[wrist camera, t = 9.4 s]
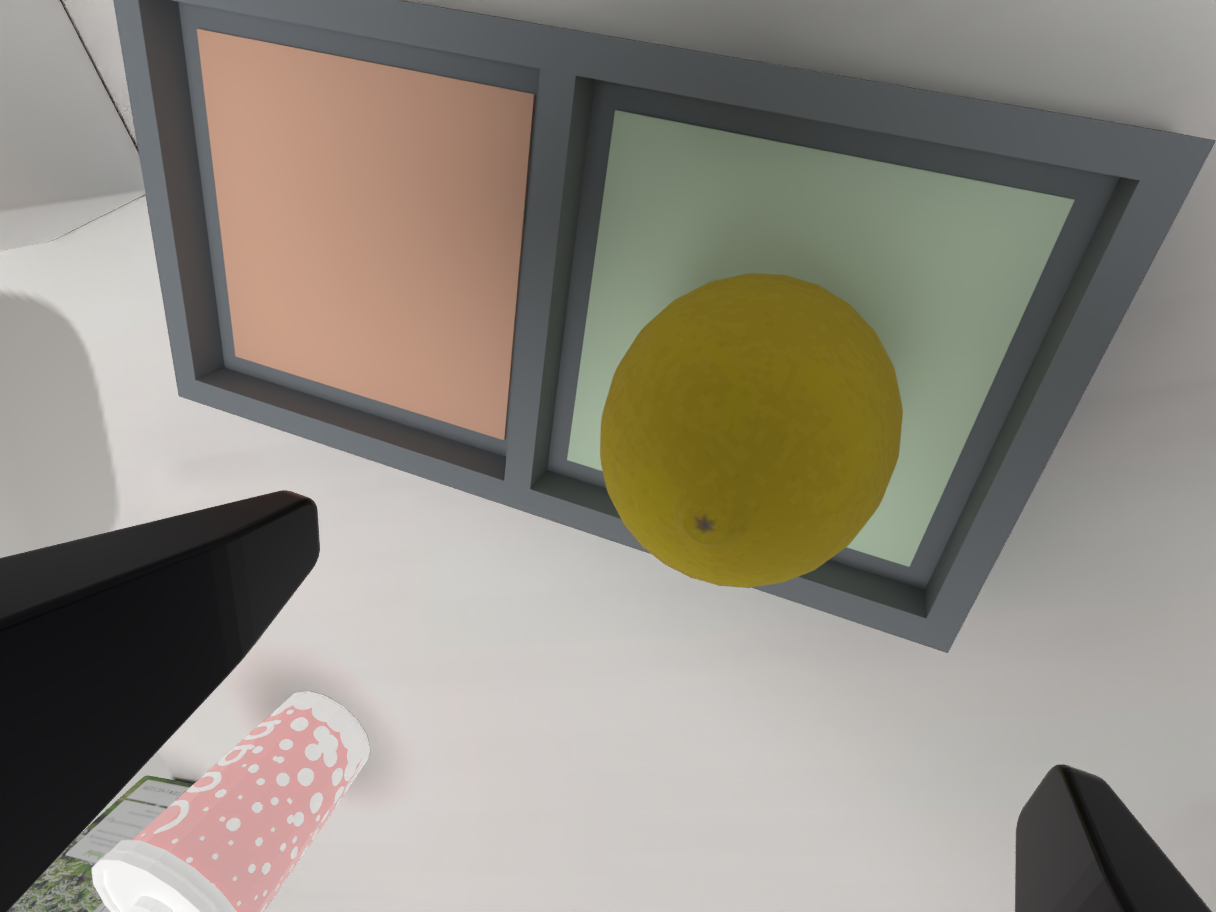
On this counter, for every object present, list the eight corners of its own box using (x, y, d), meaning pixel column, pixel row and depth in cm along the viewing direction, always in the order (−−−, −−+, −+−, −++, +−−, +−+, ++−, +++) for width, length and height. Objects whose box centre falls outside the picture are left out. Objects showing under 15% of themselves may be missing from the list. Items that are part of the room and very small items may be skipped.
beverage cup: (356, 681, 31) (24, 1051, 19) (403, 787, 33) (133, 1174, 21) (251, 673, 33) (-101, 996, 22) (301, 772, 36) (9, 1112, 24)
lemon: (953, 312, 16) (995, 480, 9) (819, 498, 19) (776, 728, 12) (728, 196, 16) (611, 273, 10) (632, 394, 19) (492, 560, 13)
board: (1174, 132, 14) (1216, 140, 12) (942, 600, 20) (947, 653, 18) (179, -38, 19) (105, -50, 18) (231, 373, 25) (178, 396, 24)
